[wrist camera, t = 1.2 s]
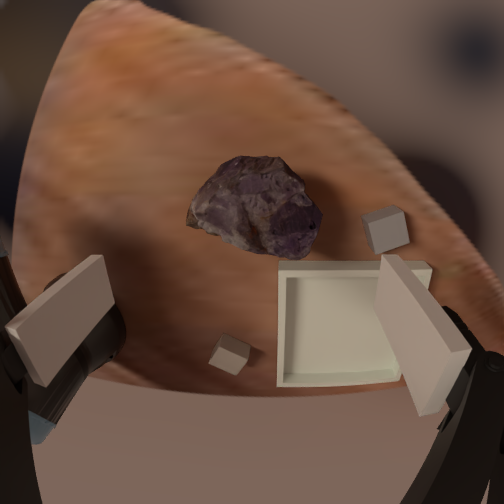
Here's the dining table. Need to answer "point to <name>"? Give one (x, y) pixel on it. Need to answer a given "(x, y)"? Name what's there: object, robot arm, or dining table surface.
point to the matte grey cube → (230, 354)
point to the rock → (257, 207)
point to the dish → (334, 324)
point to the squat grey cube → (385, 229)
